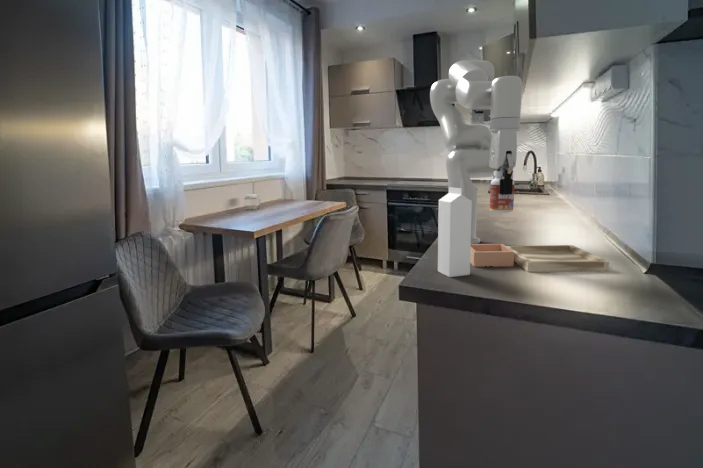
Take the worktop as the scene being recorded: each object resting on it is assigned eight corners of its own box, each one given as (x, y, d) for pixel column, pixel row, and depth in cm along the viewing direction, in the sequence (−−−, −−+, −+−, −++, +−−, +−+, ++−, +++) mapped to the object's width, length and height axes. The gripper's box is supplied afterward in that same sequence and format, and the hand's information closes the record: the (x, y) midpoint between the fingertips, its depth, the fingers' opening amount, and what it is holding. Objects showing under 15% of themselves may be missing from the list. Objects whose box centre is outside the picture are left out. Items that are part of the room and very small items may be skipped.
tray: (504, 254, 126) (504, 246, 126) (571, 253, 125) (572, 245, 125) (527, 271, 107) (528, 262, 106) (608, 271, 105) (609, 261, 105)
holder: (465, 257, 124) (465, 244, 123) (502, 257, 123) (502, 243, 122) (473, 266, 113) (474, 252, 112) (513, 266, 112) (514, 251, 112)
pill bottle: (498, 213, 111) (499, 171, 109) (485, 210, 117) (486, 170, 115) (518, 212, 113) (520, 170, 111) (504, 209, 119) (505, 170, 117)
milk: (449, 277, 104) (450, 189, 100) (437, 271, 110) (437, 187, 105) (470, 274, 106) (472, 187, 102) (457, 268, 111) (459, 186, 107)
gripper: (483, 128, 120) (481, 190, 123) (498, 123, 103) (495, 196, 106) (510, 127, 119) (507, 190, 122) (530, 122, 102) (526, 196, 105)
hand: (502, 192), depth 114 cm, fingers closed on pill bottle, 6 cm apart
